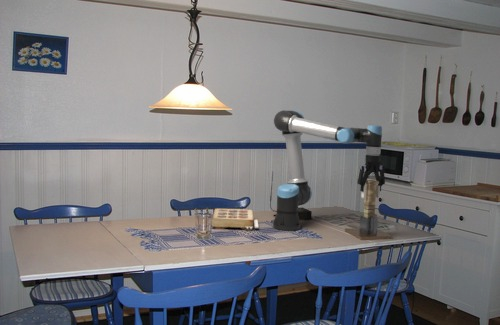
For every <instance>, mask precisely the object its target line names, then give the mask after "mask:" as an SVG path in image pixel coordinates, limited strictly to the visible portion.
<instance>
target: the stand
mask: <svg viewBox="0 0 500 325" xmlns="http://www.w3.org/2000/svg"><path fill="white" fill-rule="evenodd" d="M371 214H372V215H374V216H373V217H372V218H367V217H365V216H364V214H362V215H361V214H360V217H359V227H357V228H356V227H355V228H351V227H350V228H344V232H345V233H348V234H349V235H351V236H353V237H355V238H356V239H359V240H361V241H369V240H370V241H371V240H388V239H389V240H390V239H391V238H392V239H393V235H392V234H390V233H388V232H385V231H382V230H381V229H378V220H379V218H378V214H377V213H376V212H375V213H371ZM392 239H391V240H392Z"/></svg>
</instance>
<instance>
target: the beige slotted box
mask: <svg viewBox="0 0 500 325" xmlns="http://www.w3.org/2000/svg"><path fill="white" fill-rule="evenodd" d="M253 214H254V212H253V209H250V208H249V209H244V208H243V209H242V208H216V207H214V210H213V214H212V220H211V221H212V224H211V226H212V229H213V230H226V229H227V228H231V229H235V228H240V230H245V231H253V229H259V222H258V221H259V220H258V219H254V215H253Z"/></svg>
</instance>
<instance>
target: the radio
mask: <svg viewBox="0 0 500 325" xmlns="http://www.w3.org/2000/svg"><path fill="white" fill-rule="evenodd" d="M271 175H272V176H271V181H273V179H274V178H273V177H274V172H272V174H271ZM272 190H273V184H271V186H270V197H269V202H270V203H269V208H270V209H271V211H272V212H276V213H277V210H274V209H273V208H272V206H271V204H272V193H273V192H272ZM275 216H276V214H273V217H275ZM298 217H299V221H303V220H304V221H306V220H312V211H311V210H309V209H308V208H305V207H298Z"/></svg>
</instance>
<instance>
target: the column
mask: <svg viewBox="0 0 500 325" xmlns="http://www.w3.org/2000/svg"><path fill="white" fill-rule="evenodd" d="M378 184H379V181H376V179H375V180H374V179H367V181H366V183H365V186H366V192H365V198H364V204H363V205H364V207H363V209H364V210H363V215H364V216H365V217H367V218H372V217H373V216H374V215H372V214H371V213H375V214H376V198H377V197H376V185H378Z"/></svg>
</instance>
